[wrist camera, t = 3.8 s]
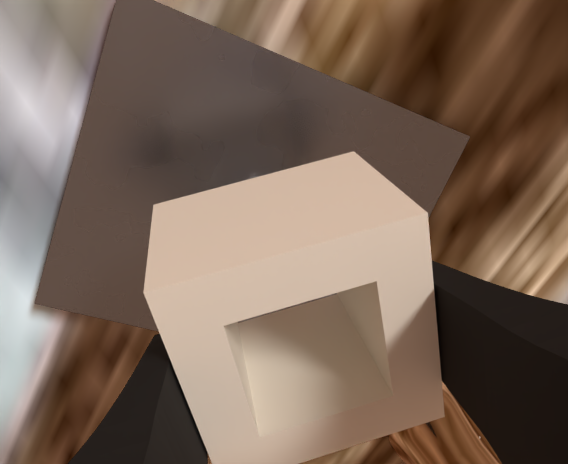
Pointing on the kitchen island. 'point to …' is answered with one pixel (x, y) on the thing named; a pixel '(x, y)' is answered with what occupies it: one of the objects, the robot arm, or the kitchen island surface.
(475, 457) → the beer glass
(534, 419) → the robot arm
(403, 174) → the flat plate
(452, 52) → the kitchen island surface
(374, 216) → the block
